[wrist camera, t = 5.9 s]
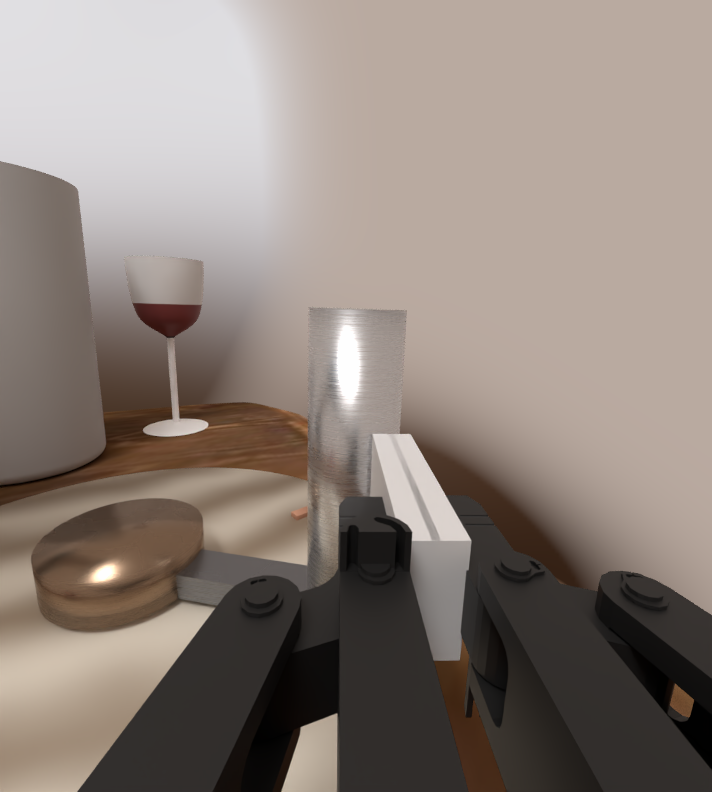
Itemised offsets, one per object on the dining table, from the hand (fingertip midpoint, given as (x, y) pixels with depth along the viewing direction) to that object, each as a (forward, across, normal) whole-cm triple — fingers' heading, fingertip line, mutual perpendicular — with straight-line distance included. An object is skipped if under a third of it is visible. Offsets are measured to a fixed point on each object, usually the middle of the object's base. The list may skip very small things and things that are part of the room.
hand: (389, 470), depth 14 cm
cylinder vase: (+24, -31, -10) cm, 41 cm away
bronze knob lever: (+4, -7, -7) cm, 11 cm away
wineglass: (+36, -22, -10) cm, 43 cm away
